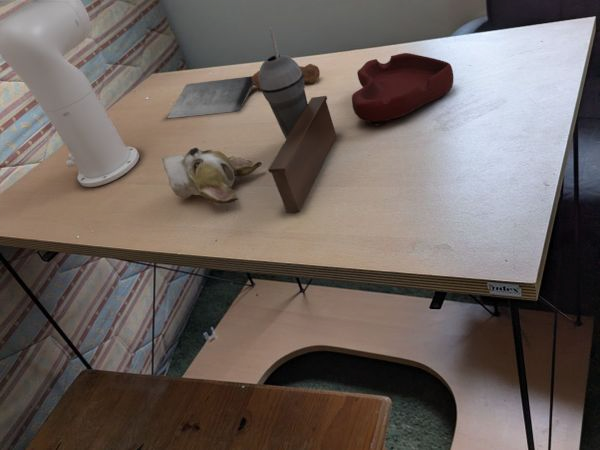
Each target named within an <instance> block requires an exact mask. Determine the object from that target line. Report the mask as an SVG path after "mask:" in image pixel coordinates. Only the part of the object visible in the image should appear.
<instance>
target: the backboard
mask: <svg viewBox="0 0 600 450" xmlns="http://www.w3.org/2000/svg"><path fill="white" fill-rule="evenodd" d="M327 100H328V97H327V95H322V96H314V97H311V98H310V100H309V101H308V102H307V103H308V105H307V106H306V108H305V109H304V111H303V113H302V114H301V116H300V118H299V119H298V121H297V123H296V124H295V126H294V128H293V129H292V131H291V133H290V134H289V136H288V137H287V139H285V141H284V143H283V144H282V146H281V147H280V149H279V151H278V152H277V153H276V155H275V157H274V159H273V161H272V162H271V164H270V165H269V167H268V170H267V171H268V173H269V174H271V175H272V179H273V181H274V183H275V186H276V188H277V191H278V193H279V196H280V199H281V201H282V204H283V207H284V208H285V211H286V213H300V212H301V210H302V208H303V206H304V204H305V202H306V200H307V198H308V196H309V194H310V192H311V189H312V188H313V185H314V184H315V182H316V179H317V178H318V176H319V173H320V171H321V169H322V167H323V165H324V163H325V161H326V159H327V157H328V155H329V154H330V151H331V149H332V148H333V145H334V143H335V141H336V140H337V137H338V136H337V133H336V129H335V126H334V123H333V120H332V116H331V112H330V109H329V106H328V102H327Z"/></svg>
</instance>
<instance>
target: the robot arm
mask: <svg viewBox="0 0 600 450" xmlns="http://www.w3.org/2000/svg"><path fill="white" fill-rule="evenodd" d="M16 1H17V0H0V8H3V7H5V6H8V5H9V4H11V3H13V2H16ZM30 1H31V2H30V3H28V4H26V5H24V6H22V7H20V8H18V9H17V10H15V11H13V12H12V13H10V14H9V15H8V16H6V17H4V18H3V20H1V21H0V56H1V58H2V59H3V60H4V62H5V63H6V64H7V65H8V66H9V67H10V69H12V70H13V72H14V73H15V74H16V75H17V76H18V77H19V78H20V79H21V81H22V82H23V83H24V85H26V88H28V90H29V91H30V93H31V94H32V95H33V97H34V98H35V100H36V102H37V103H38V104H39V106H40V107H41V109H42V111H43V112H44V114H45V115H46V117H47V118H48V120H49V122H50V123H51V125H52V126H53V128H54V129H55V132H56V133H57V135H58V136H59V137H60V139H61V141H62V142H63V144H64V145H65V147H66V148H67V151H68V152H69V153H68V160H66V163H65V164H66V166H67V167H68V168H71V167H72V168H73V167H75V168H76V169H77V171H78V174H77V181H78V183H79V184H80V186H82V187H86V188H94V187H100V186H103V185H106V184H108V183H111V182H113V181H115V180H117V179H119V178H121V177H123V176H124V175H125V174H127V173H128V172H130V171H131V170H132V169H133V168H134V167H135V165H136V164H137V163H138V161H139V159H140V154H139V152H138V150H137V148H136V147H133V146H126V145H125V143H124V141H123V139H122V138H121V136H120V134H119V132H118V131H117V129H116V127H115V125H114V123H113V122H112V120H111V118H110V116H109V114H108V113H107V111H106V109H105V108H104V105H103V104H102V102H101V100H100V99H99V96H98V95H97V93H96V92H95V89H94V87H93V86H92V84H91V82H90V81H89V79H88V78H87V76H86V75H85V74H84V72H82V70H80V69H79V68H77V66H76V65H73V64H72V63H71V62H69V61H68V60H67V59H66V58H65V57H64V56H66V55H67V54H68V53H69V52H71V51H72V50H74V49H75V48H76V47H77V46H79V45H80V44H82V43H83V42H84V41H85V40H86V39H87V38H88V36H89V35H90V32H91V26H92V25H91V19H90V16H89V13H88V11H87V9H86V7H85V5H84V3H83V1H82V0H30Z"/></svg>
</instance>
